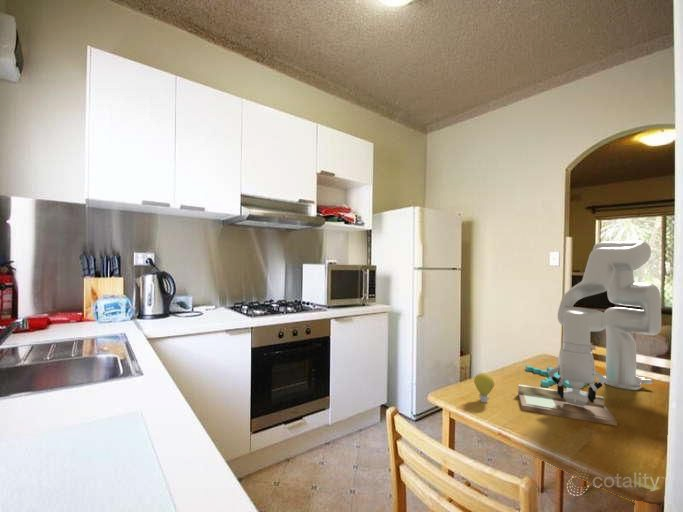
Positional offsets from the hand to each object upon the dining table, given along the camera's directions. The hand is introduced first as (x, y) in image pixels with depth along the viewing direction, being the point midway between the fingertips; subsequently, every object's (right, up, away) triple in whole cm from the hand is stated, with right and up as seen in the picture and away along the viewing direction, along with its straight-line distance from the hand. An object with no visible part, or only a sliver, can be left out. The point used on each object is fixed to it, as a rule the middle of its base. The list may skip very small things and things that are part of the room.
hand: (575, 398), depth 112 cm
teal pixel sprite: (+13, -5, +28) cm, 32 cm away
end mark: (-10, -3, +4) cm, 11 cm away
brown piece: (-4, -4, +1) cm, 6 cm away
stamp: (0, -2, 0) cm, 2 cm away
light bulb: (-28, -4, +7) cm, 29 cm away
